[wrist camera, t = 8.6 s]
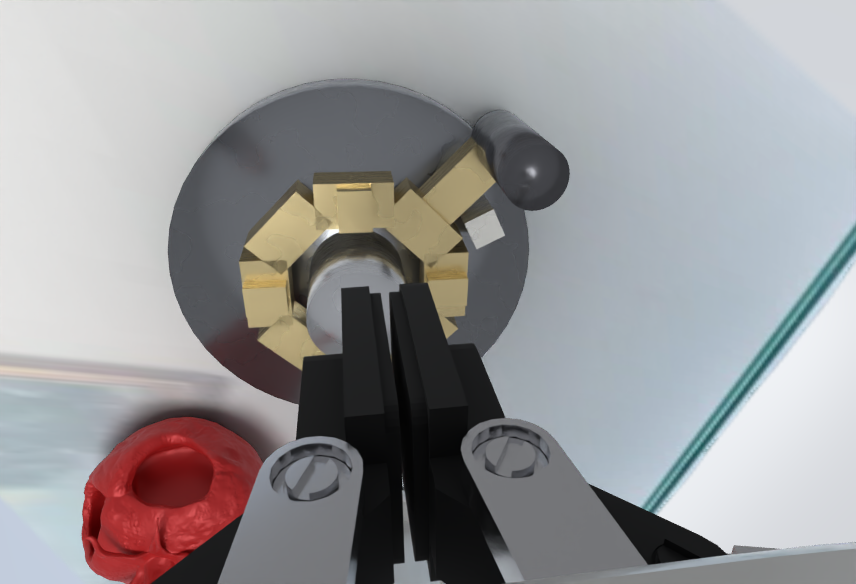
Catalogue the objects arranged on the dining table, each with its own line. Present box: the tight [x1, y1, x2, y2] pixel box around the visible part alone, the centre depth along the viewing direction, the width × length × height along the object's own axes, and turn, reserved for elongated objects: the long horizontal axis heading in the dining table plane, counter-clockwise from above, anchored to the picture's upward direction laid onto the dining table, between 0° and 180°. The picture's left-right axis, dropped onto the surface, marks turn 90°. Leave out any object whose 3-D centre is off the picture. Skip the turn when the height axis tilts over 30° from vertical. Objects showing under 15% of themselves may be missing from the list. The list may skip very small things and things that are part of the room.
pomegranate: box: [82, 417, 263, 584], centre depth 31 cm, size 10×10×9 cm
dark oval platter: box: [168, 79, 529, 404], centre depth 27 cm, size 17×17×6 cm
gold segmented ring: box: [239, 110, 570, 371], centre depth 25 cm, size 15×10×6 cm, turn 134°
